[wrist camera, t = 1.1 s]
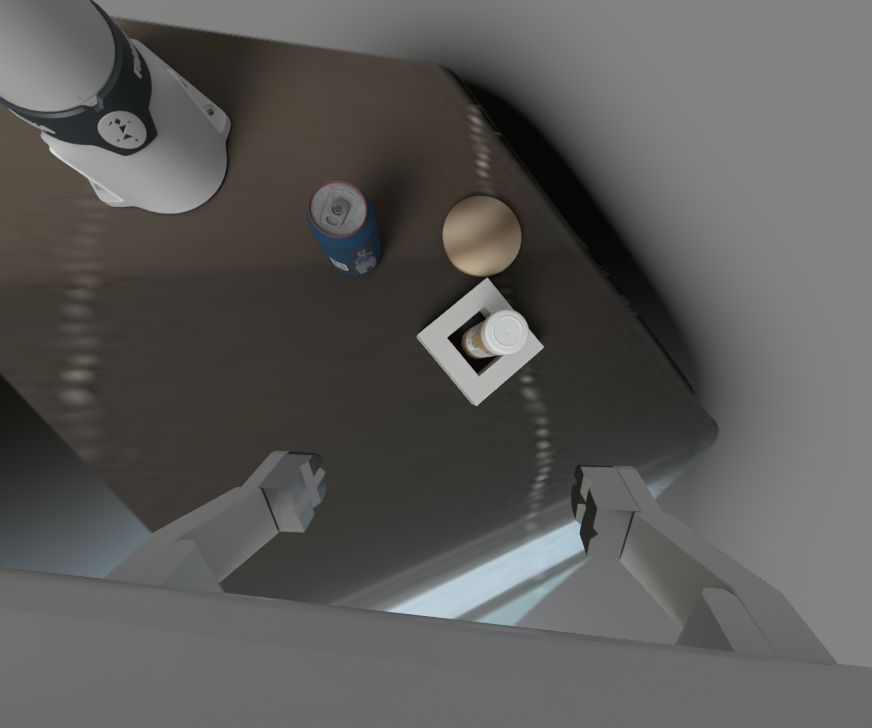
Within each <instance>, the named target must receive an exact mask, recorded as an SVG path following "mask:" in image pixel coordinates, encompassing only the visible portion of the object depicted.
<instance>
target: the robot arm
mask: <svg viewBox="0 0 872 728" xmlns="http://www.w3.org/2000/svg"><path fill="white" fill-rule="evenodd" d="M0 102H1V103H2V104H3V105H5V106H6V107H8V108H9V110H10V111H12V112H13V113H14V114H15V115H17V116H18V117H20V118H21V119H23V120H24V121H26V122H27V123H29V124H31V125H32V126H35V127H36V128H38V129H40V130H41V132H42V134H41V137H42V139H43V140H44V141H45V142H46V143H47V144H48V145H49V146H50V151H51V152H52V153H53V154H54V155H55V156H56V157H58V158H59V159H61V160H62V161H64V162H65V163H66V164H68V165H69V166H71V167H72V168H74V169H75V170H77V171H78V172H80V173H81V174H83V175H84V176H86V177H87V178H88V180H89V181H90V183H91V185H92V187H93V188H94V190H95V192H96V194H97V196H98V197H99V198H100V199H101V200H102V201H103V202H105V203H106V204H108V205H110V206H113V207H128V206H135V207H140V208H143V209H146V210H149V211H153V212H158V213H180V212H185V211H188V210H191V209H194V208H196V207H198V206H200V205H201V204H203V203H204V202H206V201H207V200H208V199H209V198H211V197H212V196H213V195H214V193H215V192H216V191H217V190H218V188H219V187H220V185H221V183H222V181H223V178H224V176H225V172H226V166H227V155H226V139H227V137H228V134H229V131H230V127H231V121H230V119H229V117H228V116H227V115H226V114H225V113H224V112H223V111H222V110H221V109H220V108H219V107H218V106H216V105H215V104H214V103H213V102H212V101H210V100H209V99H208V98H207V97H206V96H204V95H203V94H202V93H201V92H200V91H198V90H197V89H196V88H195V87H194V86H192V85H191V84H190V83H189V82H188V81H186V80H185V79H184V78H183V77H182V76H180V75H179V74H178V73H177V72H176V71H174V70H173V69H172V68H171V67H170V66H168V65H167V64H166V63H165V62H164V61H162V60H161V59H160V58H159V57H158V56H156V55H155V54H154V53H153V52H152V51H150V50H149V49H148V48H147V47H146V46H144V45H143V44H142V43H140V42H139V41H138V40H135V39H130V38H129V37H128V36H127V34H126V33H125V32H124V31H123V30H122V29H121V28H120V26H119V25H118V24H117V23H116V22H115V21H114V20H113V19H112V18H111V17H109V15H108V14H107V13H106V12H105V11H104V10H103V9H102V8H101V7H100V6H99V5H98V4H96V3H95V2H94V1H93V0H0ZM213 113H214V114H213ZM211 114H213V115H211ZM322 463H323V462H322V459H321V456H320V455H319V454H317V453H305V452H291V451H290V452H285V451H275V452H272V453H271V454H270V455H269V456H268V457H267V459H266V460H265V461H264V462H263V463H262V464H261V465H260V466H259V468H258V469H257V470H256V471H255V472H254V473H253V474H252V476H251V477H250V478H249V479H248V480H247V481H246V482H245V484H244V485H243V486H242V487H236V488H234V489H232V490H230V491H229V492H227V493H225V494H223V495H221V496H220V497H218V498H216V499H214V500H212V501H210V502H209V503H207V504H205V505H203V506H201V507H199V508H198V509H196V510H194V511H192V512H190V513H189V514H187V515H185V516H183V517H181V518H179V519H178V520H176V521H174V522H172V523H170V524H168V525H167V526H165V527H163V528H161V529H159V530H157V531H156V532H154V533H152V534H150V535H149V536H148V537H147V538H146V539H145V540H144V541H143V542H141V543H140V544H139V545H138V546H137V547H136V548H135V549H134V550H133V551H132V552H131V553H130V554H129V555H128V556H127V557H126V558H125V559H124V560H123V561H122V562H121V563H120V564H119V565H118V566H117V567H116V568H115V569H114V570H113V571H111V572H110V573H109V574H108V575H107V576H106V577H105V578H104V579H99V578H91V577H83V576H73V575H65V574H57V573H48V572H39V571H31V570H22V569H13V568H5V567H0V728H872V668H870V667H861V666H853V665H844V664H838V663H837V662H836V661H835V660H834V658H833V657H832V656H831V655H830V653H829V652H828V651H827V650H826V648H825V647H824V646H823V645H822V643H821V642H820V641H819V640H818V638H817V637H816V636H815V635H814V633H813V632H812V631H811V629H810V628H809V627H808V626H807V624H806V623H805V622H804V621H803V619H802V618H801V617H800V615H799V614H798V613H797V612H796V611H795V609H794V608H793V607H792V605H791V604H790V603H789V602H788V600H787V599H786V598H785V597H784V595H783V594H782V593H781V592H779V591H778V590H776V589H775V588H774V587H772V586H771V585H769V584H768V583H767V582H765V581H764V580H762V579H761V578H759V577H758V576H756V575H755V574H754V573H752V572H751V571H749V570H748V569H747V568H745V567H744V566H742V565H741V564H740V563H738V562H737V561H735V560H734V559H732V558H731V557H730V556H728V555H727V554H725V553H724V552H722V551H721V550H719V549H718V548H716V547H715V546H714V545H712V544H711V543H709V542H708V541H707V540H705V539H704V538H702V537H701V536H699V535H698V534H697V533H695V532H694V531H692V530H691V529H689V528H688V527H687V526H685V525H684V524H682V523H681V522H680V521H678V520H677V519H675V518H674V517H673V516H671V515H669V514H663V513H662V511H661V509H660V508H659V506H658V504H657V503H656V501H655V500H654V498H653V496H652V495H651V493H650V491H649V490H648V488H647V487H646V485H645V483H644V482H643V480H642V479H641V477H640V475H639V474H638V472H637V471H636V469H635V468H633V467H629V466H593V465H577V467H576V468H575V474H574V476H575V478H576V481H577V483H575V484H574V485H573V486H572V492H571V502H572V509H573V513H574V517H575V520H577V521H578V522H579V523H580V524H581V529H580V536H581V539H582V542H583V545H584V549H585V552H586V555H587V556H593V557H603V558H612V559H620V562H621V563H622V564H623V565H624V566H625V567H626V568H627V569H628V570H629V572H630V573H631V574H632V575H633V576H634V577H635V578H636V579H637V580H638V581H639V582H640V584H641V585H642V586H643V587H644V588H645V589H646V590H647V591H648V592H649V593H650V595H651V596H653V598H654V599H655V600H656V601H657V602H658V603H659V604H660V605H661V607H662V608H663V609H664V610H665V611H666V612H667V613H668V614H669V615H670V616H671V617H672V619H673V620H674V621H675V622H676V623H677V624H678V625H679V626H680V627H681V628H682V632H681V634H680V636H679V638H678V640H677V642H676V644H675V645H670V644H662V643H654V642H645V641H636V640H627V639H619V638H610V637H602V636H593V635H584V634H576V633H567V632H558V631H550V630H540V629H532V628H524V627H515V626H506V625H498V624H489V623H480V622H472V621H463V620H454V619H446V618H437V617H428V616H420V615H411V614H402V613H393V612H385V611H376V610H367V609H358V608H350V607H341V606H332V605H324V604H315V603H306V602H298V601H289V600H281V599H272V598H263V597H255V596H246V595H237V594H229V593H225V592H224V591H223V589H222V587H221V585H220V584H219V583H220V582H221V581H222V580H223V579H224V578H226V577H227V576H228V575H229V574H230V573H231V572H233V571H234V570H235V569H236V568H237V567H239V566H240V565H241V564H242V563H243V562H244V561H246V560H247V559H248V558H249V557H250V556H252V555H253V554H254V553H255V552H256V551H257V550H259V549H260V548H261V547H262V546H263V545H265V544H266V543H267V542H268V541H269V540H271V539H272V538H273V537H274V536H275V535H276V534H278V531H286V532H305V530H306V528H307V526H308V525H309V523H310V521H311V519H312V517H313V516H314V509H313V507H315V506H316V505H318V504H319V503H320V502H321V501H322V499H323V497H324V495H325V492H326V488H327V477H326V473H325V472H324V471H323V470H322V469H321V468H320V466H321V465H322Z"/></svg>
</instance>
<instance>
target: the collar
mask: <svg viewBox="0 0 872 728" xmlns="http://www.w3.org/2000/svg"><path fill="white" fill-rule="evenodd" d="M502 309H510V310H513V309H512V307H511V306H510V305H509V304H508V302H507V301H506V300H505V299H504V297H503V296H502V295H501V294H500V292H499V291H498V290H497V289H496V288H495V286H494V285H493V284H492V283H491V281H490V280H489V279H488V278H486V279H485V280H484V281H482V282H481V283H480V284H479V285H477V286H476V287H475V288H474V289H473V290H471V291H470V292H469V293H468V294H467V295H465V296H464V297H463V298H462V299H460V300H459V301H458V302H457V303H456V304H454V305H453V306H452V307H451V308H450V309H448V310H447V311H446V312H445V313H443V314H442V315H441V316H440V317H439V318H437V319H436V320H435V321H434V322H432V323H431V324H430V325H429V326H428V327H426V328H425V329H424V330H423V331H422V332H420V333H419V334H418V335H417V338H418V340H419V341H420V342H421V343H422V344H423V346H424V347H425V348H426V349H427V350H428V352H429V353H430V354H431V355H432V356H433V358H434V359H435V360H436V361H437V362H438V364H439V365H440V366H441V367H442V368H443V370H444V371H445V372H446V373H447V374H448V376H449V377H450V378H451V379H452V381H453V382H454V383H455V384H456V385H457V387H458V388H459V389H460V390H461V391H462V393H463V394H464V395H465V396H466V397H467V399H468V400H469V401H470V402H471V403H472V404H474V405H476V406H477V405H478V404H479V403H481V402H482V401H483V400H484V399H485V398H486V397H487V396H489V395H490V394H491V393H492V392H493V391H494V390H496V389H497V388H498V387H499V386H500V385H501V384H502V383H504V382H505V381H506V380H507V379H508V378H509V377H511V376H512V375H513V374H514V373H515V372H516V371H517V370H519V369H520V368H521V367H522V366H523V365H524V364H525V363H527V362H528V361H529V360H530V359H531V358H532V357H534V356H535V355H536V354H537V353H538V352H539V351H540V350H542V349H543V348H544V347H543V346H542V344H541V343H540V342H539V341H538V339H537V338H536V337H535V336H534V334H533V333H532V332H531V331H530V330H529V335H528V339H527V342H526V344H525V345H524V347H523V348H522V349H521V350H519V351H518V352H516V353H513V354H509V355H498V356H497V357H496V358H495V359H494V360H493V361H491V362H490V363H489V364H488V365H487V366H486V367H484V368H483V369H482V370H481V371H480V372H479V373H477V374H476V372H475V371H474V370H473V369H472V368H471V366H470V365H469V364H468V363H467V362H466V360H465V359H464V358H463V357H462V356H461V354H460V353H459V352H458V351H457V349H456V348H455V347H454V346H453V345H452V343H451V342H450V341H449V340H448V339H447V337H448V336H450V335H451V334H452V333H453V332H454V331H456V330H457V329H458V328H459V327H460V326H462V325H463V324H464V323H465V322H466V321H468V320H469V319H470V318H471V317H472V316H474V315H475V314H476V313H477V312H478V311H480V312H481V313H482V314H483V315H484V317H485V318H487V317H488V316H490V315H491V314H493V313H495V312H496V311H499V310H502ZM528 329H529V328H528Z"/></svg>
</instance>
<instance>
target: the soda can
mask: <svg viewBox="0 0 872 728" xmlns="http://www.w3.org/2000/svg"><path fill="white" fill-rule="evenodd" d="M307 221H308V225H309V228H310V230H311V232H312V234H313V235H314V237H315V238H316V240H317V241H318V243H319V244H320V246H321V247H322V249H323V250H324V252H325V253H326V255H327V256H328V258H329V259H330V261H331V262H332V264H333V265H334V266H335V267H336V268H337V269H338V270H339V271H341V272H342V273H345V274H347V275H352V276H359V275H364V274H366V273H368V272H370V271H371V270H373V269H374V268H375V267H376V265H377V264H378V262H379V260H380V257H381V244H380V238H379V233H378V228H377V223H376V218H375V213H374V209H373V206H372V204H371V202H370V200H369V199H368V198H367V196H366V195H365V194H364V193H362V192H361V191H360V190H359V189H358V188H357V187H355V186H354V185H353V184H351V183H349V182H346V181H342V180H330V181H326V182H324V183H322V184H320V185H319V186H317V187H316V188H315V189H314V191H313V192H312V194H311V196H310V198H309V202H308V210H307Z"/></svg>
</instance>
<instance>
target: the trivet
mask: <svg viewBox="0 0 872 728" xmlns="http://www.w3.org/2000/svg"><path fill="white" fill-rule="evenodd" d="M442 242H443V247H444V250H445V253H446V255H447V257H448V259H449V260H450V261H451V263H452V264H453V265H454V266H455V267H456V268H457V269H459V270H460V271H462V272H463V273H465V274H467V275H470V276H474V277H490V276H493V275H496V274H498V273H500V272H502V271H503V270H505V269H506V268H507V267H508V266H509V265H510V264H511V263H512V262H513V260H514V259H515V257H516V256H517V254H518V252H519V249H520V245H521V229H520V225H519V223H518V220H517V218H516V216H515V215H514V213H513V212H512V211H511V210H510V208H509V207H508V206H506V205H505V204H504V203H502V202H501V201H499V200H497V199H494V198H492V197H487V196H474V197H470V198H467V199H464V200H462V201H461V202H459V203H458V204H457V205H455V206H454V207H453V209H452V210H451V211H450V212H449V214H448V216H447V218H446V220H445V224H444V227H443V233H442Z"/></svg>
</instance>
